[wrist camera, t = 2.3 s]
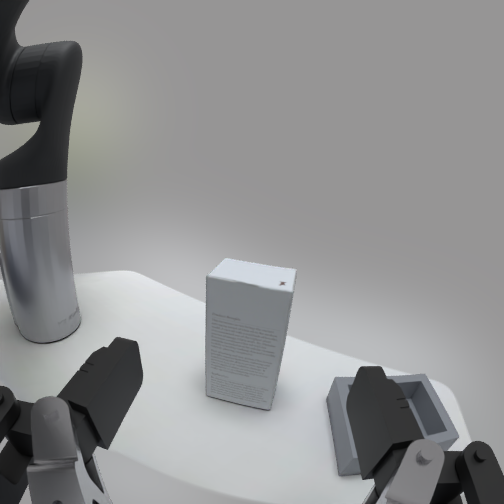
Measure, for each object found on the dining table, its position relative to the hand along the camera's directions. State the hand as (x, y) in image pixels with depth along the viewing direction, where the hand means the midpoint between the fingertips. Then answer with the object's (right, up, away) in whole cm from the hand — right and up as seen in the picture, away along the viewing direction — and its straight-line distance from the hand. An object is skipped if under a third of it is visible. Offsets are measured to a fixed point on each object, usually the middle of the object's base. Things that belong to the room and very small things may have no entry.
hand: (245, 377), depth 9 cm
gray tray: (+12, -11, +10) cm, 19 cm away
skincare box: (-1, -9, +15) cm, 17 cm away
